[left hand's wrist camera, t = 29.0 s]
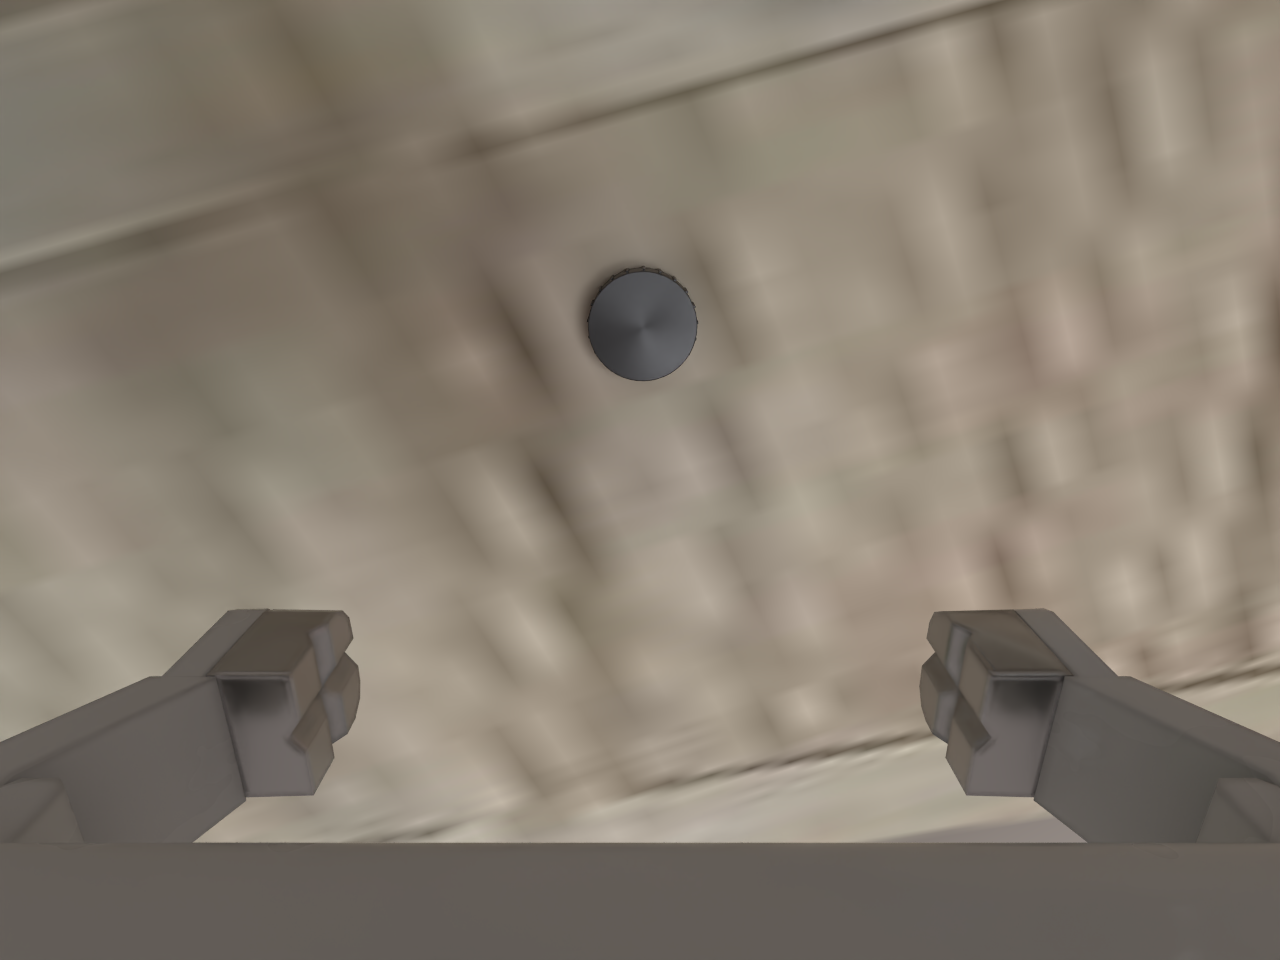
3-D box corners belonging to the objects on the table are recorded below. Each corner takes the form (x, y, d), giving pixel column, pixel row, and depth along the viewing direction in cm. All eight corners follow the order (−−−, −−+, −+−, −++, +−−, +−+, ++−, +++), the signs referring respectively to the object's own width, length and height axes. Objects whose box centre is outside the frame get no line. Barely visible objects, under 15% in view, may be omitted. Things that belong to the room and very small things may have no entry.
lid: (643, 394, 39) (643, 404, 37) (567, 322, 38) (563, 329, 36) (717, 320, 38) (721, 326, 36) (641, 242, 36) (640, 244, 34)
